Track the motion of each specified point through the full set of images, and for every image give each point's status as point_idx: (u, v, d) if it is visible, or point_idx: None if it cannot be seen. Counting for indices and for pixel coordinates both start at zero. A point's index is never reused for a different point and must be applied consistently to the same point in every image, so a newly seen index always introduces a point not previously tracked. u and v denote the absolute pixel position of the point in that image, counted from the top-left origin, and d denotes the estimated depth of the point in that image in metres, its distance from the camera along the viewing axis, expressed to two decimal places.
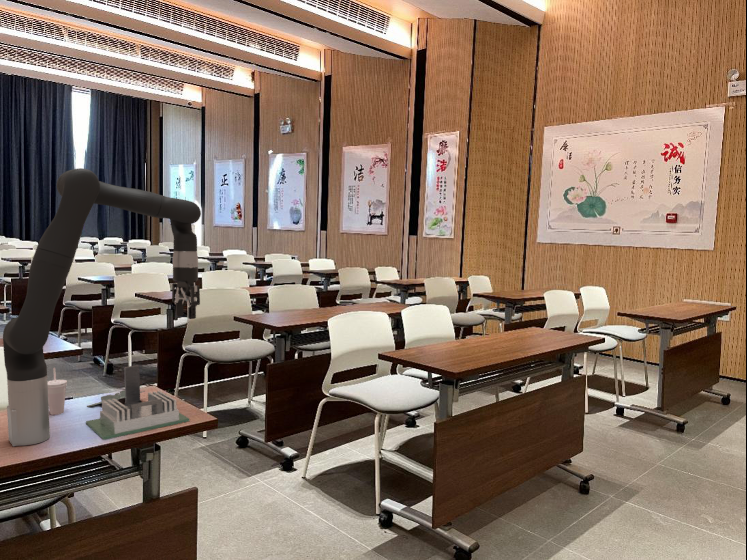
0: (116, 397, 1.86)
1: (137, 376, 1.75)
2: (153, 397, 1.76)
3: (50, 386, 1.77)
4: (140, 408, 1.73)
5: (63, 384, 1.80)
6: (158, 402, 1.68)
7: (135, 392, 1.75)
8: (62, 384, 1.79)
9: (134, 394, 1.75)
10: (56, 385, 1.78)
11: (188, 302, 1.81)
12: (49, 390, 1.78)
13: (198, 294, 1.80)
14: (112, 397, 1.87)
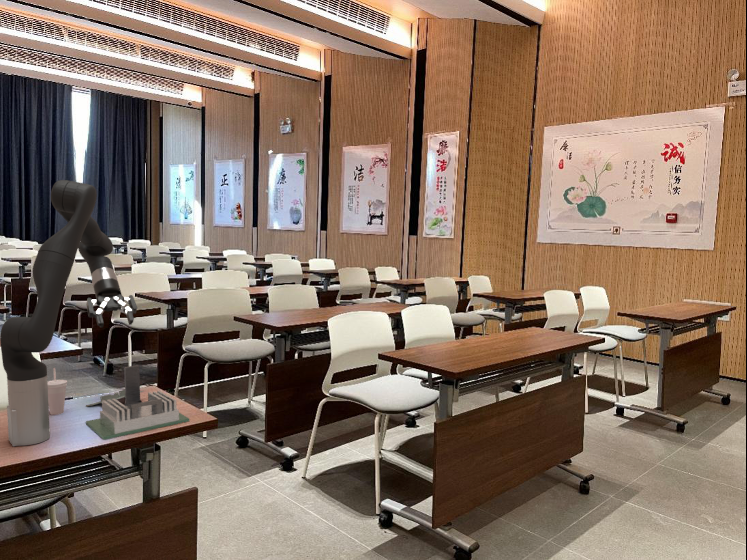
0: (115, 397, 1.86)
1: (137, 376, 1.75)
2: (153, 397, 1.76)
3: (50, 386, 1.77)
4: (140, 408, 1.73)
5: (63, 384, 1.80)
6: (158, 402, 1.68)
7: (135, 392, 1.75)
8: (62, 384, 1.79)
9: (134, 394, 1.75)
10: (56, 385, 1.78)
11: (128, 308, 1.89)
12: (49, 390, 1.78)
13: None
14: (111, 397, 1.87)
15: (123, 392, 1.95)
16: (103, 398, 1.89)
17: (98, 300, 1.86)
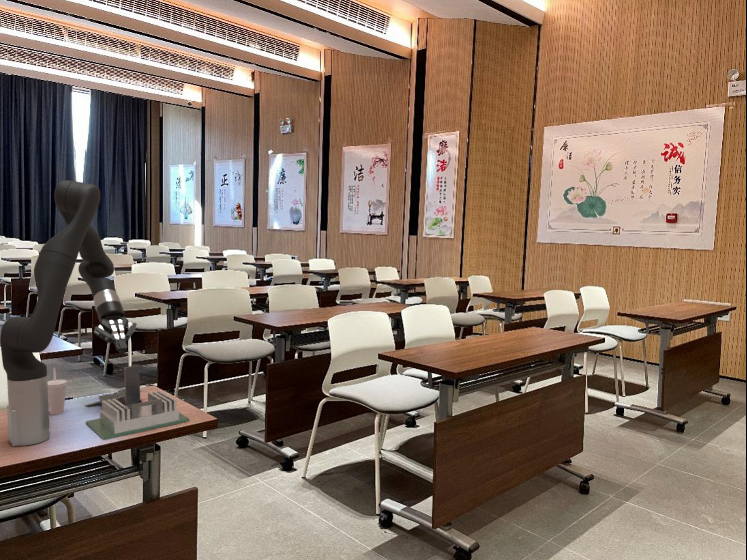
0: (114, 396, 1.87)
1: (137, 376, 1.75)
2: (153, 397, 1.76)
3: (50, 386, 1.77)
4: (140, 408, 1.73)
5: (63, 384, 1.80)
6: (158, 402, 1.68)
7: (135, 392, 1.75)
8: (62, 384, 1.79)
9: (134, 394, 1.75)
10: (56, 385, 1.78)
11: (123, 335, 1.82)
12: (49, 390, 1.78)
13: (132, 333, 1.86)
14: (110, 396, 1.88)
15: (122, 392, 1.96)
16: (102, 398, 1.90)
17: (104, 324, 1.81)
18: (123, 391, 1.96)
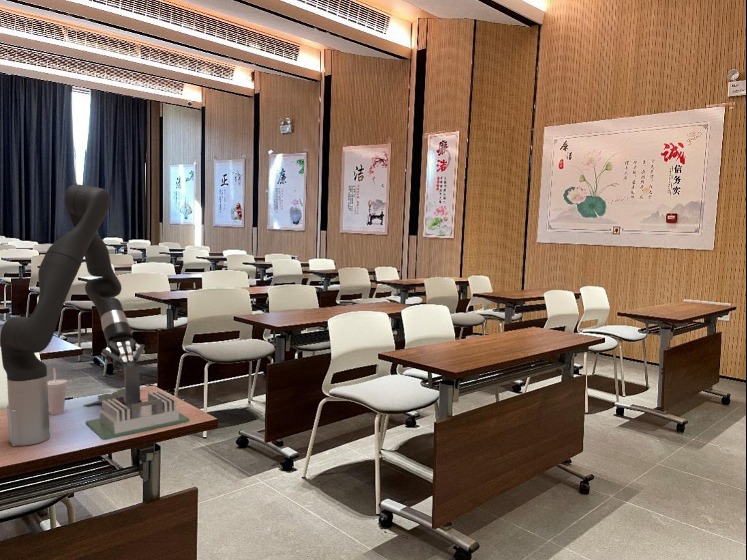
0: (113, 396, 1.87)
1: (137, 376, 1.75)
2: (153, 397, 1.76)
3: (50, 386, 1.77)
4: (140, 408, 1.73)
5: (63, 384, 1.80)
6: (158, 402, 1.68)
7: (135, 392, 1.75)
8: (62, 384, 1.79)
9: (134, 394, 1.75)
10: (56, 385, 1.78)
11: (131, 357, 1.78)
12: (49, 390, 1.78)
13: None
14: (109, 396, 1.88)
15: (121, 391, 1.96)
16: (101, 397, 1.90)
17: (111, 346, 1.77)
18: (122, 391, 1.96)
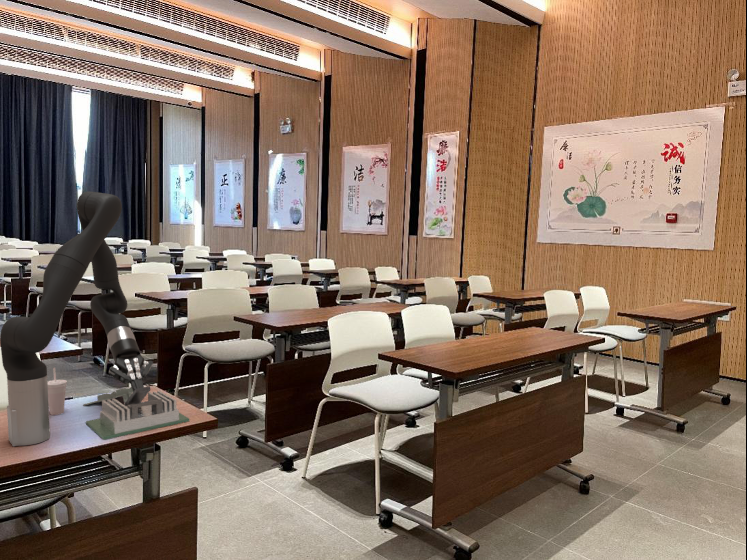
0: (112, 396, 1.88)
1: (145, 393, 1.71)
2: (153, 397, 1.76)
3: (50, 386, 1.77)
4: (140, 408, 1.73)
5: (63, 384, 1.80)
6: (158, 402, 1.68)
7: (138, 400, 1.73)
8: (62, 384, 1.79)
9: (136, 401, 1.74)
10: (56, 385, 1.78)
11: (139, 374, 1.73)
12: (49, 390, 1.78)
13: (148, 372, 1.77)
14: (108, 396, 1.89)
15: (120, 391, 1.97)
16: (100, 397, 1.90)
17: (119, 364, 1.73)
18: (121, 390, 1.96)
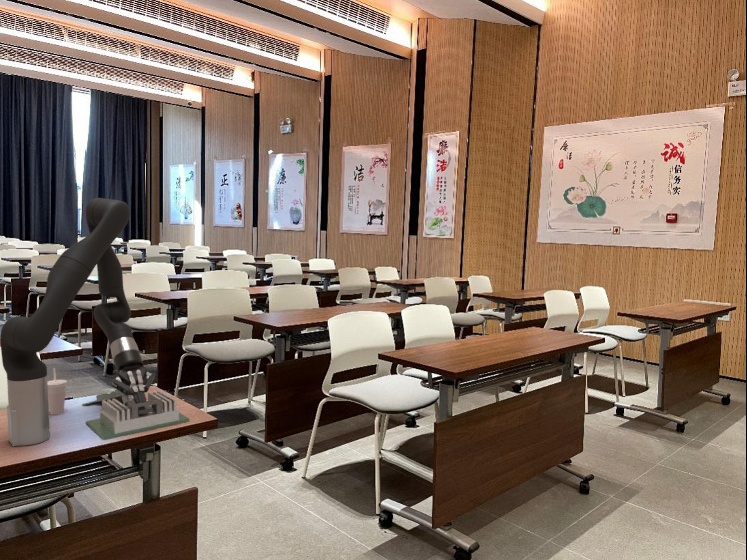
0: (112, 395, 1.88)
1: None
2: (153, 397, 1.76)
3: (50, 386, 1.77)
4: None
5: (63, 384, 1.80)
6: (158, 402, 1.68)
7: None
8: (62, 384, 1.79)
9: None
10: (56, 385, 1.78)
11: (142, 386, 1.72)
12: (49, 390, 1.78)
13: None
14: (108, 395, 1.89)
15: (119, 391, 1.97)
16: (99, 397, 1.91)
17: (122, 375, 1.72)
18: None
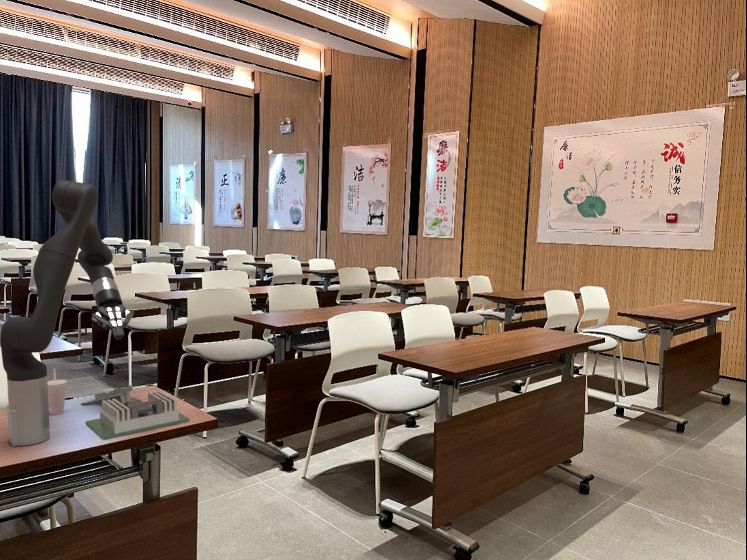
0: (110, 395, 1.89)
1: None
2: (153, 397, 1.76)
3: (50, 386, 1.77)
4: None
5: (63, 384, 1.80)
6: (158, 402, 1.68)
7: None
8: (62, 384, 1.79)
9: None
10: (56, 385, 1.78)
11: (120, 322, 1.84)
12: (49, 390, 1.78)
13: None
14: (106, 395, 1.89)
15: (117, 390, 1.97)
16: (98, 396, 1.91)
17: (101, 311, 1.84)
18: (118, 390, 1.97)
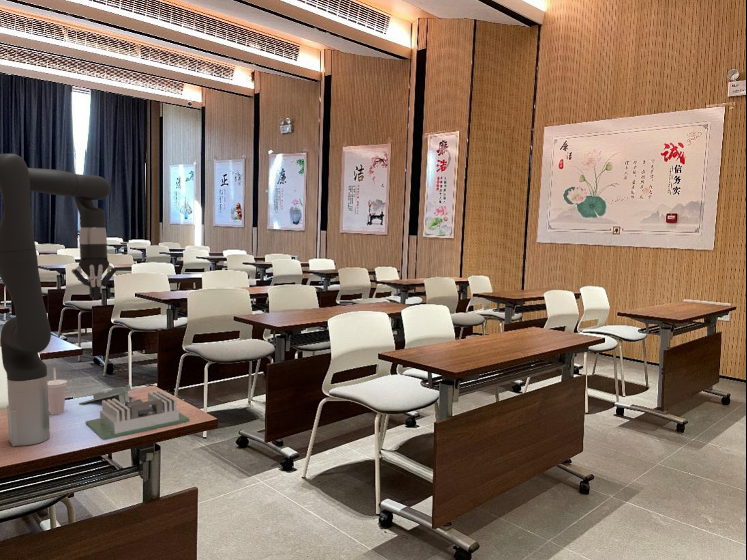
0: (108, 394, 1.89)
1: None
2: (153, 397, 1.76)
3: (50, 386, 1.77)
4: None
5: (63, 384, 1.80)
6: (158, 402, 1.68)
7: None
8: (62, 384, 1.79)
9: None
10: (56, 385, 1.78)
11: (99, 282, 1.81)
12: (49, 390, 1.78)
13: None
14: (104, 394, 1.90)
15: (116, 390, 1.98)
16: (96, 396, 1.92)
17: (83, 267, 1.78)
18: (117, 389, 1.98)
